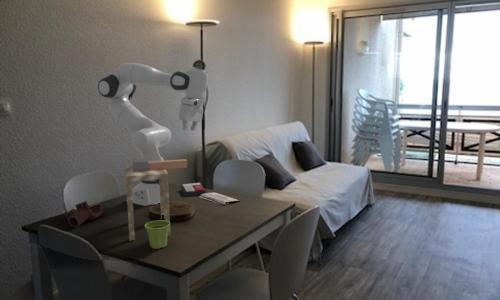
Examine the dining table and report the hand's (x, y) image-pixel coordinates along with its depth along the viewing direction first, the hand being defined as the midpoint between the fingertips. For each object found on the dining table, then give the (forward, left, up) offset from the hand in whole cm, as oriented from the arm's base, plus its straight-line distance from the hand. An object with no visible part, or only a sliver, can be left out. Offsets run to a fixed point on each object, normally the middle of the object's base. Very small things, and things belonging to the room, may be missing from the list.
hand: (188, 130), depth 196 cm
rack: (-1, -32, -39) cm, 50 cm away
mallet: (+2, -29, -13) cm, 32 cm away
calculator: (-15, +26, -40) cm, 50 cm away
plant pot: (+13, -45, -39) cm, 61 cm away
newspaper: (+6, +19, -40) cm, 44 cm away
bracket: (-34, -34, -39) cm, 62 cm away
